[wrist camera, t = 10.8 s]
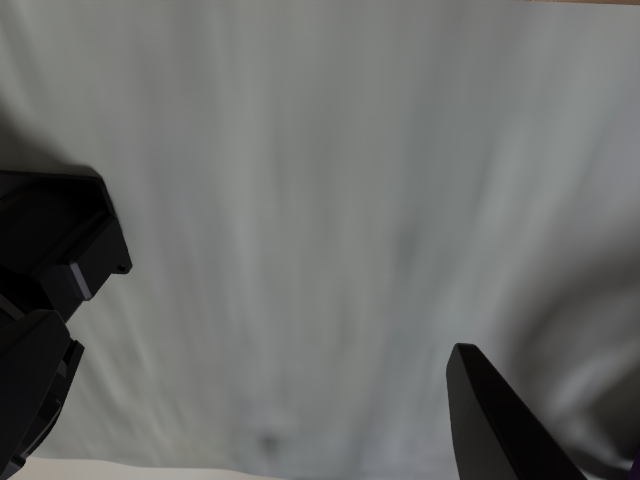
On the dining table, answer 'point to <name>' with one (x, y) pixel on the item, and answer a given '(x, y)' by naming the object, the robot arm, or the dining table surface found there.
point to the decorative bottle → (635, 467)
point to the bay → (597, 1)
